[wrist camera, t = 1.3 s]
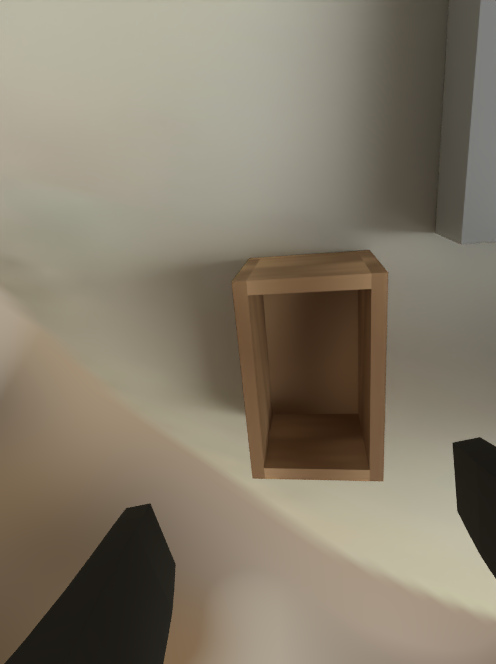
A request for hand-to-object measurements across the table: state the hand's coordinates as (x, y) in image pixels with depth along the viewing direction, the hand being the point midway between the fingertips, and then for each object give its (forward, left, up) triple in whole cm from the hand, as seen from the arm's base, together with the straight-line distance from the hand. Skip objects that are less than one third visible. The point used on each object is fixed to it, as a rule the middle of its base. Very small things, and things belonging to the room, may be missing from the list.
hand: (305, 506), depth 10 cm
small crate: (0, 0, -10) cm, 10 cm away
